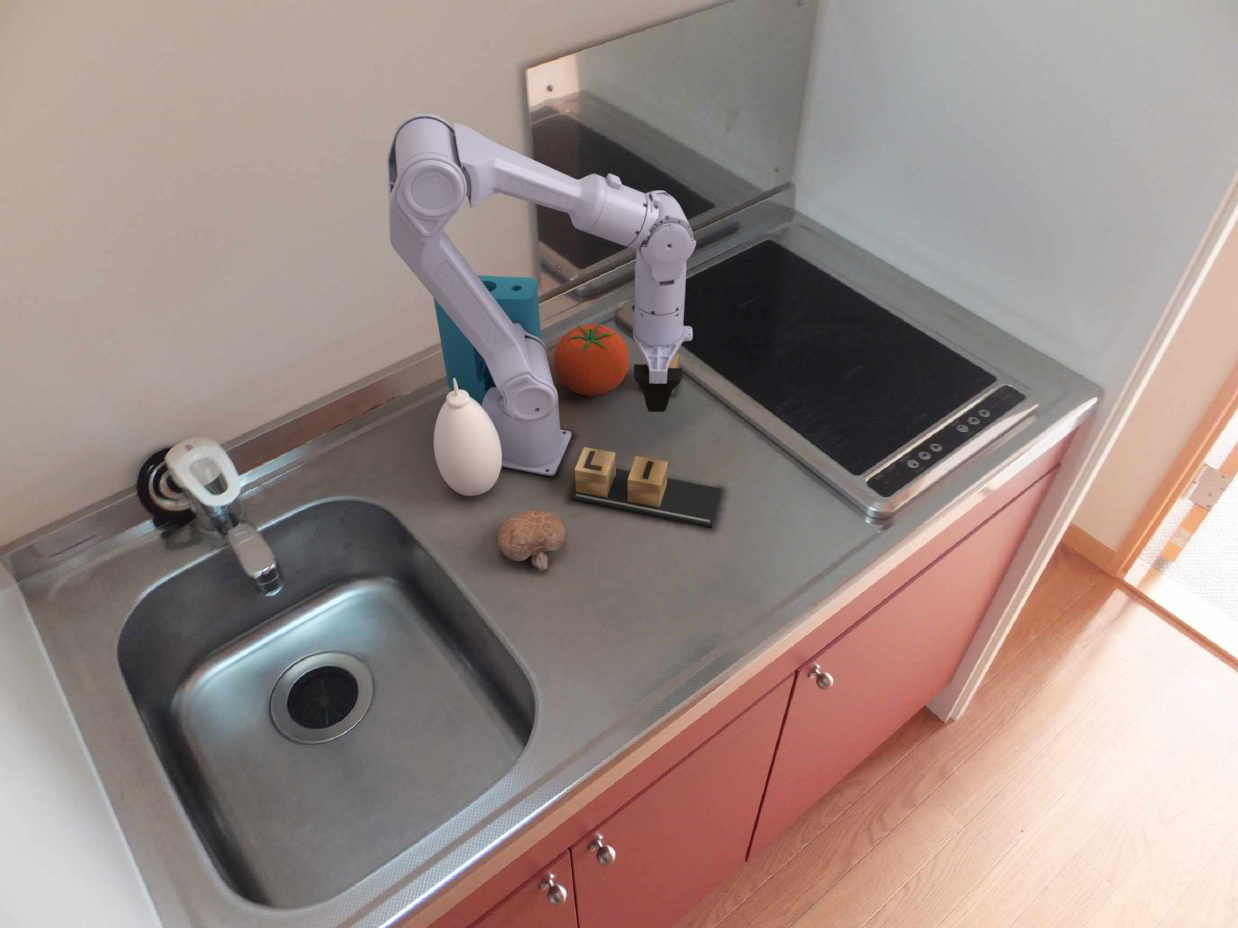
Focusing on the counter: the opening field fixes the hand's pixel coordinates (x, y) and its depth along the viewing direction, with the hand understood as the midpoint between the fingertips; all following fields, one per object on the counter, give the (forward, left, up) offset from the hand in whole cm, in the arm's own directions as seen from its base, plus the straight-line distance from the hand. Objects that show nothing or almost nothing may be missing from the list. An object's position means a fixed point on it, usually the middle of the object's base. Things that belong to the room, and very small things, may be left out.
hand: (656, 389), depth 110 cm
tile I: (+2, -11, -7) cm, 13 cm away
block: (-21, -2, -8) cm, 22 cm away
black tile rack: (+2, -11, -7) cm, 14 cm away
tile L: (-5, -11, -7) cm, 14 cm away
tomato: (-10, +7, -8) cm, 15 cm away
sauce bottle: (-19, -15, -8) cm, 26 cm away
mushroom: (-9, -22, -8) cm, 25 cm away
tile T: (-1, +10, -7) cm, 12 cm away
